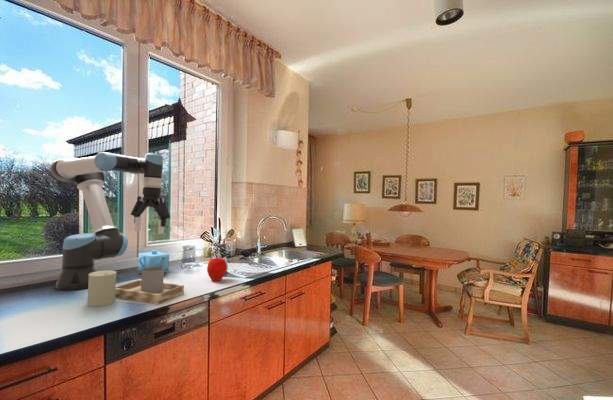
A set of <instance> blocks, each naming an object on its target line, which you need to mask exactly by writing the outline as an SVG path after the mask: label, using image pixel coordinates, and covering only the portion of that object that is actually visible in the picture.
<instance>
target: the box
mask: <svg viewBox="0 0 613 400" xmlns="http://www.w3.org/2000/svg"><path fill="white" fill-rule="evenodd" d="M184 289H185V285H184V284H179V283H170V282H169V283H168V282H163V292H162V293H159V294H155V293H148V292H141V278H140V279H136V280H134V281H130V282H126V283H124V284H123V283H122V284H120V285H116V291H115V299H116V298H117V299H122V300H130V301H135V302H144V303H147V304H156V305H160V304H162V303H165V302H167V301H170V300H171V299H173V298H176V297H179V296H180V295H182V294H184V293H185V292H184V291H185V290H184Z"/></svg>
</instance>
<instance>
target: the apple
mask: <svg viewBox="0 0 613 400" xmlns="http://www.w3.org/2000/svg"><path fill="white" fill-rule="evenodd" d="M227 267H228V266H227V262H226V259H224V258H222V257H213V258H211V259H210V260H209V261H208V264H207V267H206V272H207V275H208V276H209V277H208V278H209V279H210V280H211V281H213V282H216V281H220V280H222V279H223V278H224V276H225V274H226V273H227V270H228V269H227Z"/></svg>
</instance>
